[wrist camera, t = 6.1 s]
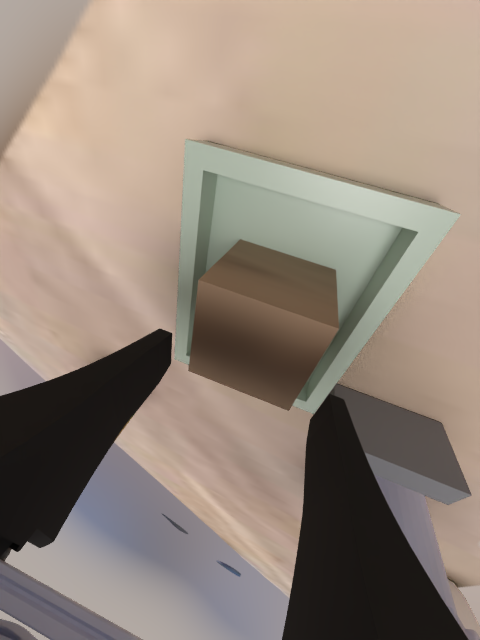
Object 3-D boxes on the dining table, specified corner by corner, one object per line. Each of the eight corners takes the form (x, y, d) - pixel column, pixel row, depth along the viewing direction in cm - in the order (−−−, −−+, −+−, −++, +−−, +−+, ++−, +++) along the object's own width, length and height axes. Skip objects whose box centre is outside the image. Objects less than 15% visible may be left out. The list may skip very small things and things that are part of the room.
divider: (424, 435, 20) (447, 504, 16) (324, 396, 21) (322, 453, 17) (441, 423, 19) (471, 495, 15) (334, 382, 20) (335, 440, 16)
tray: (315, 389, 21) (313, 414, 19) (188, 340, 22) (174, 359, 20) (438, 203, 11) (460, 214, 9) (207, 140, 13) (185, 138, 11)
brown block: (299, 342, 18) (288, 410, 13) (224, 315, 18) (188, 370, 14) (335, 269, 14) (339, 328, 9) (240, 239, 15) (198, 279, 10)
